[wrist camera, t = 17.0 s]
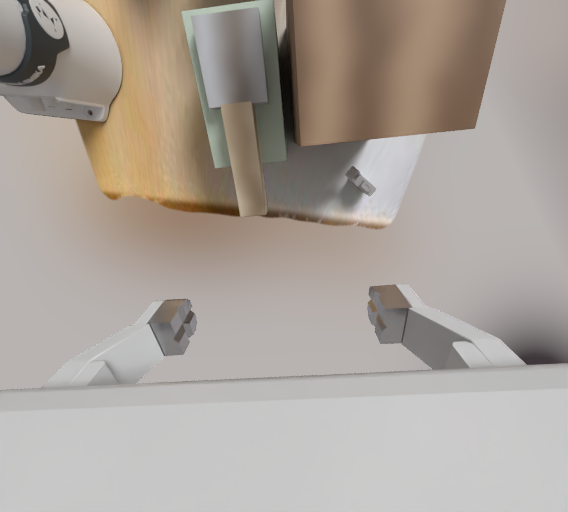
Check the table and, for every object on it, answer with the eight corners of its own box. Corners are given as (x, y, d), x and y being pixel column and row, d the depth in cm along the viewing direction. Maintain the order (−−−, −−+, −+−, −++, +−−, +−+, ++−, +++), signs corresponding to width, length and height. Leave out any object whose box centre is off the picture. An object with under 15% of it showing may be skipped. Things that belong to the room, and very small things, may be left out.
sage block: (235, 160, 44) (215, 168, 32) (216, 53, 37) (181, 11, 25) (287, 154, 44) (286, 161, 31) (278, 44, 36) (272, -2, 24)
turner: (233, 210, 35) (227, 218, 32) (197, 24, 25) (184, 8, 22) (279, 207, 34) (278, 213, 31) (260, 16, 25) (256, -2, 22)
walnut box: (294, 142, 43) (301, 146, 19) (286, 26, 35) (282, -188, 12) (371, 134, 42) (474, 128, 19) (379, 14, 35) (565, -241, 11)
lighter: (369, 185, 46) (384, 193, 39) (362, 192, 46) (376, 201, 39) (343, 161, 44) (353, 166, 37) (336, 169, 45) (346, 175, 37)
